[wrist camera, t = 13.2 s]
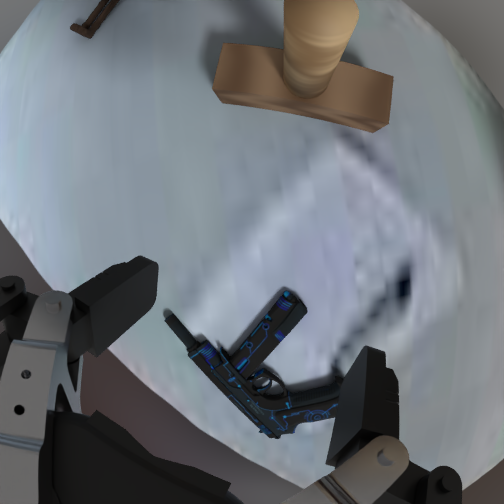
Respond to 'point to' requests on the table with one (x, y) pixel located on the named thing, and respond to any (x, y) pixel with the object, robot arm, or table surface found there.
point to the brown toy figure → (91, 31)
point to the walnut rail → (281, 99)
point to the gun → (262, 373)
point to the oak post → (315, 42)
